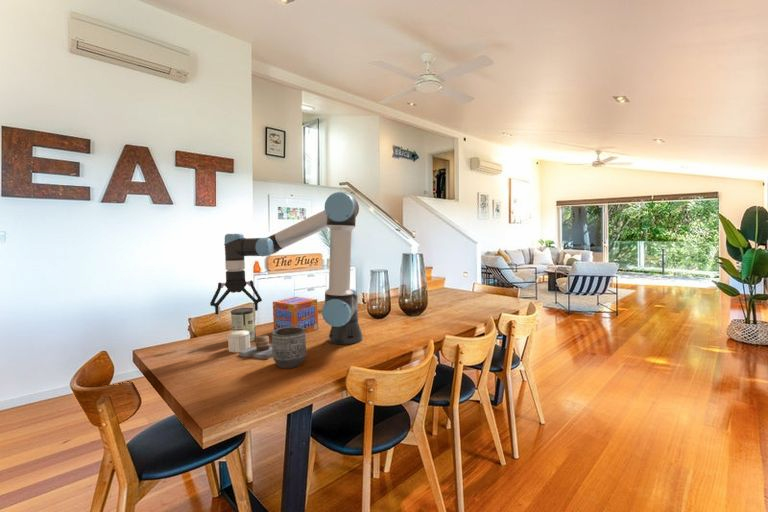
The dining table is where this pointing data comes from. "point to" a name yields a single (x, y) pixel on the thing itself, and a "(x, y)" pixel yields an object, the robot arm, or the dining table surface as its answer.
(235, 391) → the dining table surface
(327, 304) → the robot arm
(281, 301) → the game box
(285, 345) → the planter
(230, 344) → the cap
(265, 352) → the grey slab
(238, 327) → the coffee can
